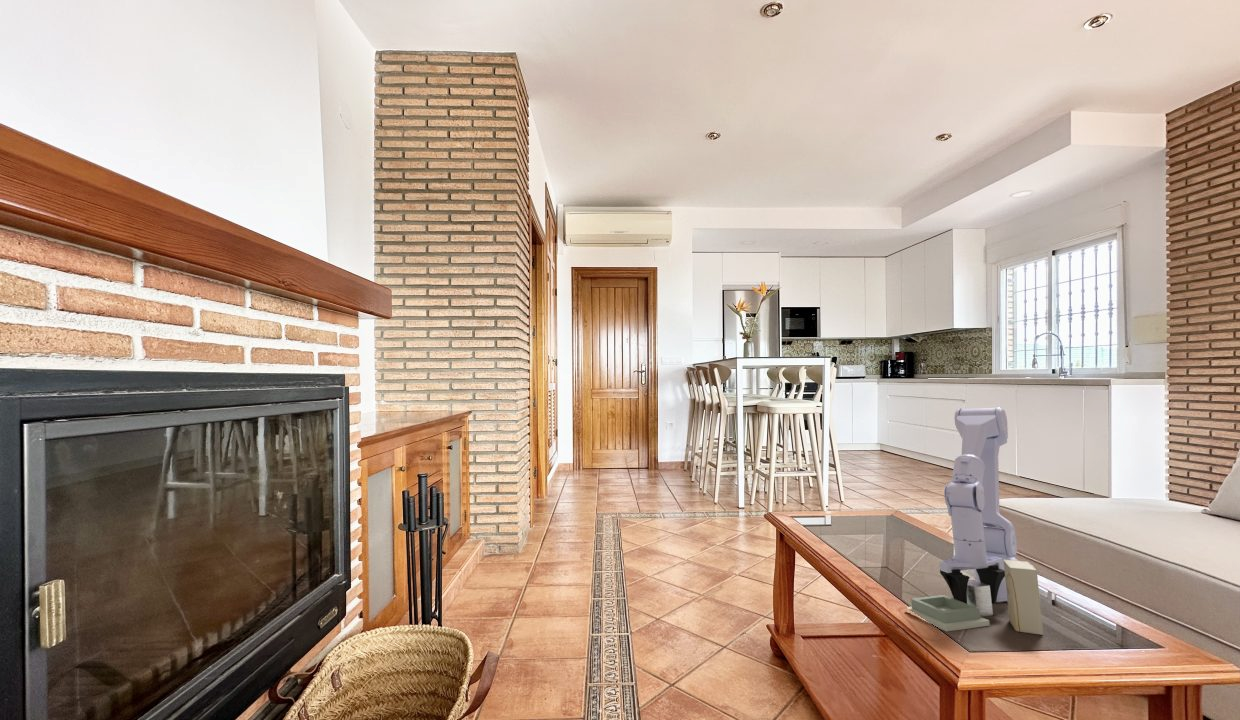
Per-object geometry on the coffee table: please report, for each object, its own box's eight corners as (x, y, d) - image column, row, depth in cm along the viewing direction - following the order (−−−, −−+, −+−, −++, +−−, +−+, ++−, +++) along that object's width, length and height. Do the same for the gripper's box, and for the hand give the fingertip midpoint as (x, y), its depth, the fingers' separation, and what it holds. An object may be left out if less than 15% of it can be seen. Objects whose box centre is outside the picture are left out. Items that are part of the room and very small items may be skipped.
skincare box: (1008, 620, 102) (1001, 558, 104) (1036, 623, 100) (1028, 561, 102) (1016, 632, 97) (1008, 566, 98) (1045, 636, 95) (1037, 569, 96)
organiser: (945, 607, 110) (943, 592, 110) (989, 625, 100) (987, 609, 100) (904, 612, 108) (903, 597, 108) (946, 631, 98) (944, 615, 98)
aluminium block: (975, 608, 109) (972, 579, 110) (993, 615, 105) (989, 585, 106) (960, 610, 108) (957, 581, 109) (977, 617, 104) (974, 587, 105)
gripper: (979, 532, 114) (986, 594, 112) (925, 537, 111) (932, 601, 109) (1009, 539, 107) (1016, 605, 106) (953, 544, 104) (960, 612, 102)
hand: (975, 604), depth 107 cm, fingers open, 7 cm apart
